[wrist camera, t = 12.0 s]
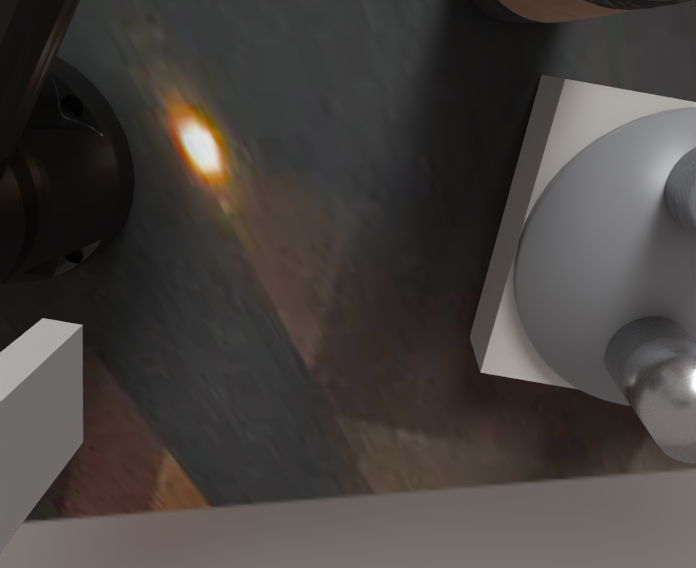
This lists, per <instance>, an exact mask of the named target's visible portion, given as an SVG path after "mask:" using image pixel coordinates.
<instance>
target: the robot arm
mask: <svg viewBox="0 0 696 568" xmlns="http://www.w3.org/2000/svg"><path fill="white" fill-rule="evenodd" d="M79 1H80V0H0V284H7V283H15V282H24V281H33V280H41V279H48V278H52V277H56V276H59V275H62V274H65V273H67V272H70V271H72V270H74V269H76V268H78V267H80V266H81V265H83V264H84V263H86V262H87V261H89V260H90V259H91V258H93V257H94V256H96V255H97V254H98V253H100V252H101V251H102V250H103V249H105V248H106V247H107V246H108V245H109V244H110V243H111V242H112V240H113V239H114V238H115V237H116V235H117V234H118V233H119V231H120V229H121V228H122V226H123V224H124V222H125V220H126V217H127V215H128V212H129V209H130V206H131V201H132V196H133V186H134V173H133V163H132V157H131V153H130V148H129V145H128V142H127V139H126V136H125V133H124V131H123V129H122V127H121V124H120V122H119V120H118V118H117V117H116V115H115V113H114V111H113V110H112V108H111V107H110V105H109V104H108V102H107V101H106V100H105V98H104V97H103V96H102V94H101V93H100V92H99V91H98V90H97V89H96V87H95V86H94V85H93V84H92V83H91V82H90V81H89V80H88V79H87V78H86V77H85V76H83V75H82V74H81V73H80V72H79V71H77V70H76V69H75V68H73V67H72V66H71V65H69V64H68V63H66V62H65V61H63V60H62V59H60V58H58V57H56V54H57V52H58V50H59V48H60V45H61V43H62V41H63V38H64V36H65V34H66V31H67V29H68V27H69V24H70V22H71V20H72V18H73V15H74V13H75V11H76V8H77V6H78V4H79ZM82 443H83V325H80V324H74V323H68V322H62V321H56V320H51V319H45V318H42V319H41V320H40V321H39V322H37V323H36V324H35V325H34V326H33V327H31V328H30V329H29V330H28V331H26V332H25V333H24V334H23V335H21V336H20V337H19V338H18V339H16V340H15V341H14V342H13V343H11V344H10V345H9V346H8V347H6V348H5V349H4V350H3V351H2V352H0V552H1V551H2V549H3V548H4V547H5V545H6V544H7V543H8V541H9V540H10V539H11V537H12V536H13V535H14V533H15V532H16V531H17V529H18V528H19V527H20V525H21V524H22V523H23V521H24V520H25V519H26V517H27V516H28V515H29V513H30V512H31V511H32V509H33V508H34V507H35V505H36V504H37V503H38V501H39V500H40V499H41V497H42V496H43V495H44V493H45V492H46V491H47V489H48V488H49V487H50V485H51V484H52V483H53V481H54V480H55V479H56V478H57V476H58V475H59V474H60V472H61V471H62V470H63V468H64V467H65V466H66V464H67V463H68V462H69V460H70V459H71V458H72V456H73V455H74V454H75V452H76V451H77V450H78V448H79V447H80V446H81V444H82Z"/></svg>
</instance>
